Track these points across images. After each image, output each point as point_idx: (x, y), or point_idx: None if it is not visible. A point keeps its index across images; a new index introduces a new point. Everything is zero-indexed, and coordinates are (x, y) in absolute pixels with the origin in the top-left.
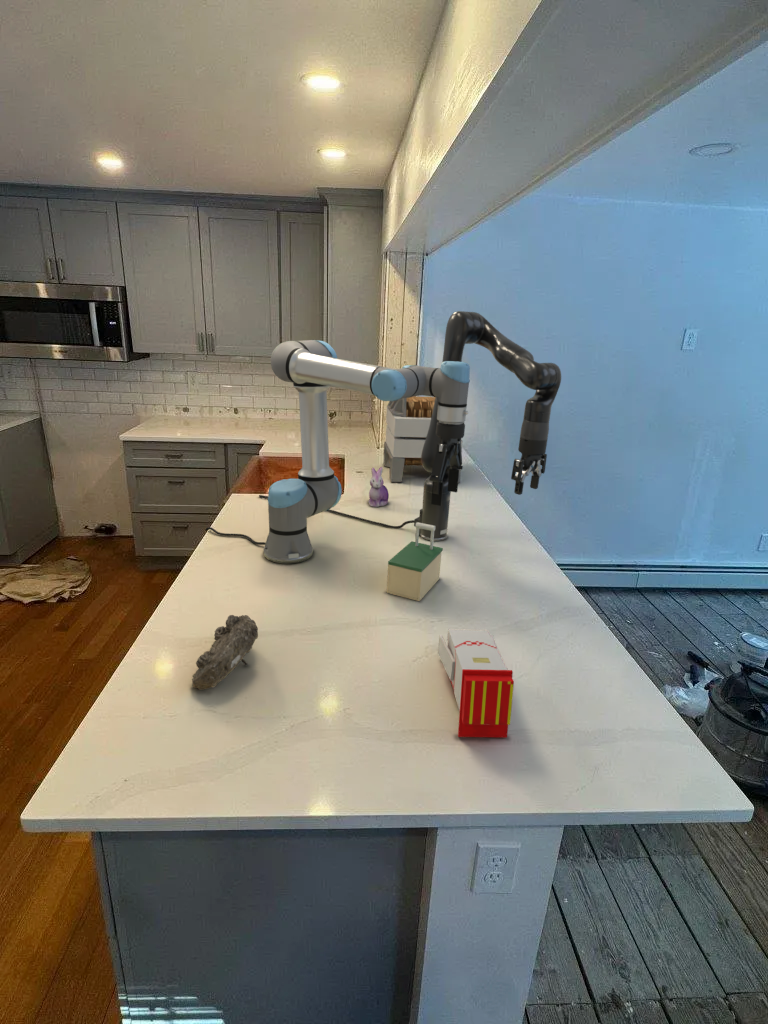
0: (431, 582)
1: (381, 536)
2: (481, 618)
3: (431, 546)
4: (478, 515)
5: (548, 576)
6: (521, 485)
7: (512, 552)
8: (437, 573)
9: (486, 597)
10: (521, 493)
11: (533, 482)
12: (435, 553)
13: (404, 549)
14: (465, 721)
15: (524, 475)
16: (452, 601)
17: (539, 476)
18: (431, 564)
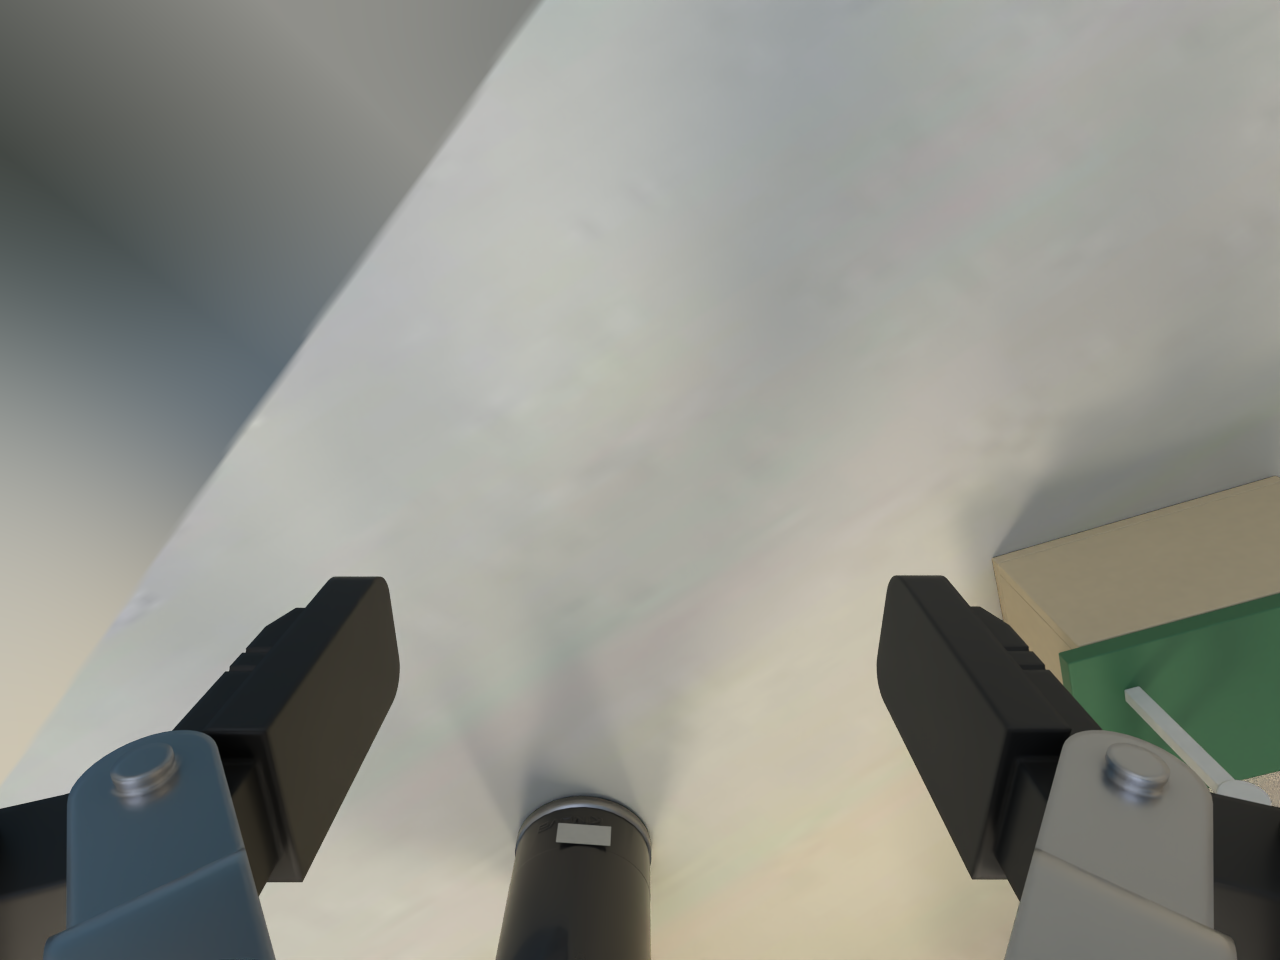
0: (1133, 537)
1: (775, 955)
2: (1276, 143)
3: (1154, 703)
4: None
5: (501, 169)
6: (1023, 692)
7: (398, 504)
8: (1053, 569)
9: (1025, 273)
10: (925, 579)
11: (352, 710)
12: (1179, 642)
13: (1233, 773)
14: None
15: (1183, 904)
16: (1179, 369)
17: (208, 738)
18: (1247, 588)
